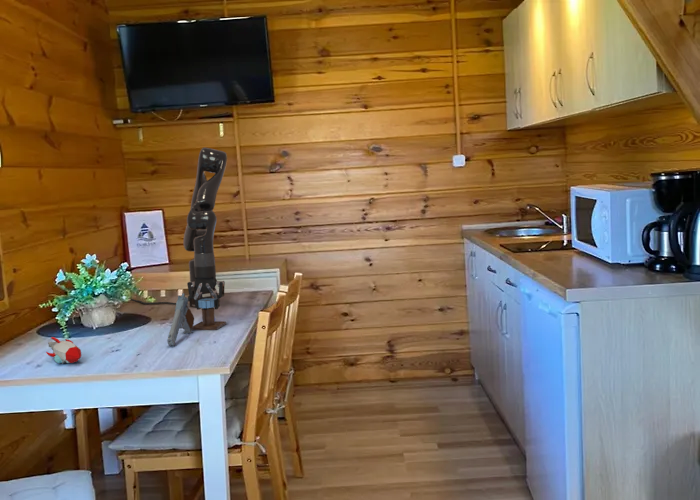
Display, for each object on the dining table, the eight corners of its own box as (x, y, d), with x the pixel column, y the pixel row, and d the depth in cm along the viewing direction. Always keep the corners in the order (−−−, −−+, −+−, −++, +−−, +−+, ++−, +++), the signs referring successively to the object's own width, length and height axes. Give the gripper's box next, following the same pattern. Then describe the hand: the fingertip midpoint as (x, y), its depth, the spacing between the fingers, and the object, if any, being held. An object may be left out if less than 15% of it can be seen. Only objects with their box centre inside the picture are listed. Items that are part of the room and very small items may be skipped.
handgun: (196, 317, 246) (188, 287, 237) (183, 368, 227) (173, 337, 217) (186, 317, 246) (178, 287, 237) (173, 368, 227) (163, 337, 217)
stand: (190, 329, 244) (189, 302, 243) (201, 323, 254) (199, 298, 253) (216, 329, 243) (215, 302, 242) (226, 323, 252) (225, 297, 251)
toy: (41, 356, 213) (40, 335, 213) (65, 353, 218) (64, 332, 217) (61, 368, 197) (60, 345, 197) (86, 364, 202) (85, 342, 201)
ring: (195, 308, 245) (195, 301, 245) (202, 304, 251) (202, 298, 251) (212, 308, 244) (211, 301, 244) (218, 304, 250) (218, 298, 250)
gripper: (227, 262, 248) (229, 307, 250) (190, 263, 251) (193, 307, 253) (219, 265, 241) (222, 311, 243) (182, 266, 244) (185, 311, 245)
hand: (207, 309), depth 248 cm, fingers closed on ring, 6 cm apart
